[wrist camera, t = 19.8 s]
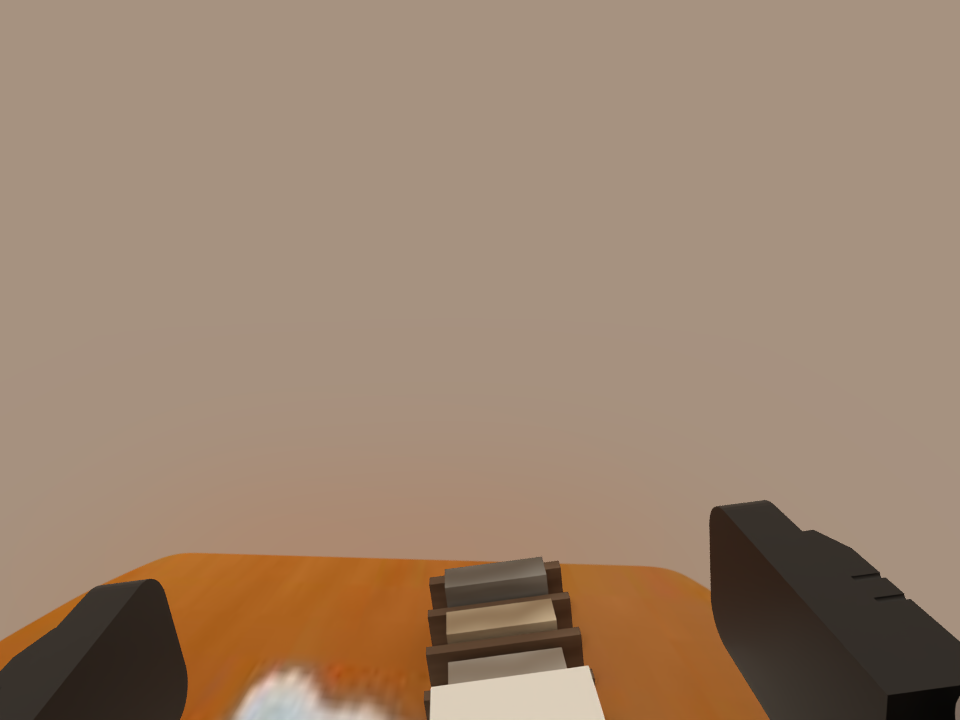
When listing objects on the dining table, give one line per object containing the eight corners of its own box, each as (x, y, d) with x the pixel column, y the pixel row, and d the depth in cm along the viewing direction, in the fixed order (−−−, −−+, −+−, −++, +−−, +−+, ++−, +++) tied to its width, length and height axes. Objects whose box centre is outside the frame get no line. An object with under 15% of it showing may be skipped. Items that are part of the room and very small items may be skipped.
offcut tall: (552, 634, 50) (546, 574, 48) (453, 647, 50) (444, 587, 48) (547, 614, 52) (541, 556, 51) (453, 626, 52) (444, 569, 51)
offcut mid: (561, 671, 46) (556, 620, 45) (454, 686, 46) (446, 634, 44) (555, 648, 48) (550, 598, 47) (453, 661, 48) (446, 612, 47)
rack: (623, 826, 35) (618, 756, 34) (432, 853, 35) (420, 784, 34) (563, 611, 54) (558, 560, 53) (437, 628, 54) (429, 577, 52)
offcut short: (572, 716, 42) (568, 673, 41) (454, 732, 42) (448, 689, 41) (565, 688, 44) (561, 647, 43) (454, 703, 44) (448, 662, 43)
